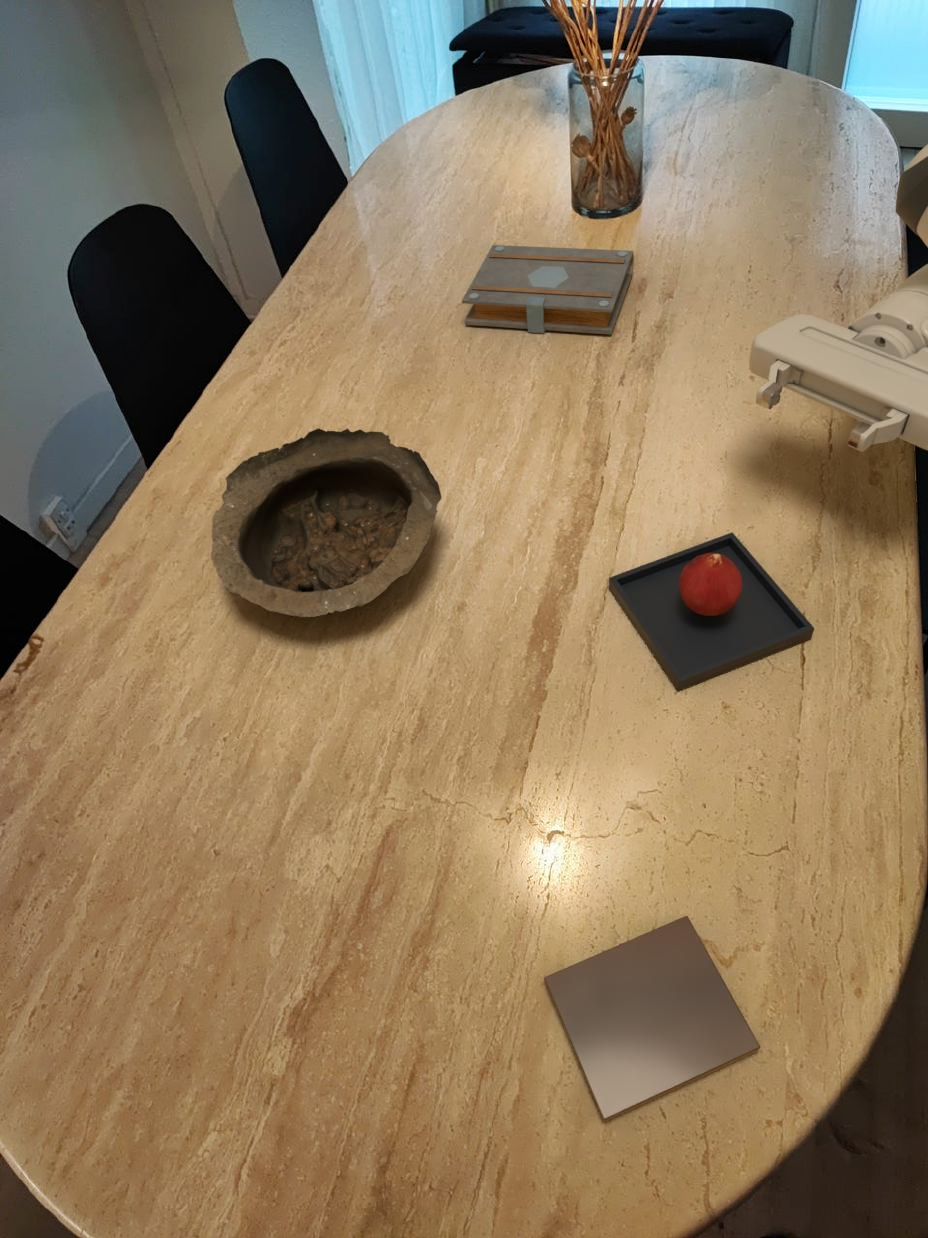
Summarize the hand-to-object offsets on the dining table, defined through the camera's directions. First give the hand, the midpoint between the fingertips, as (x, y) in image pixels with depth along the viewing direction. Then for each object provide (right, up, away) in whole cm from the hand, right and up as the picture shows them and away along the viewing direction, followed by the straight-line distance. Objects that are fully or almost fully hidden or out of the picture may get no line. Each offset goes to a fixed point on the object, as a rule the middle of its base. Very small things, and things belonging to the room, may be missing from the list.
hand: (807, 420), depth 77 cm
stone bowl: (-45, -11, +19) cm, 50 cm away
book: (-18, +28, +47) cm, 58 cm away
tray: (-7, -17, +8) cm, 20 cm away
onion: (-7, -17, +8) cm, 20 cm away
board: (-18, -47, -14) cm, 52 cm away
